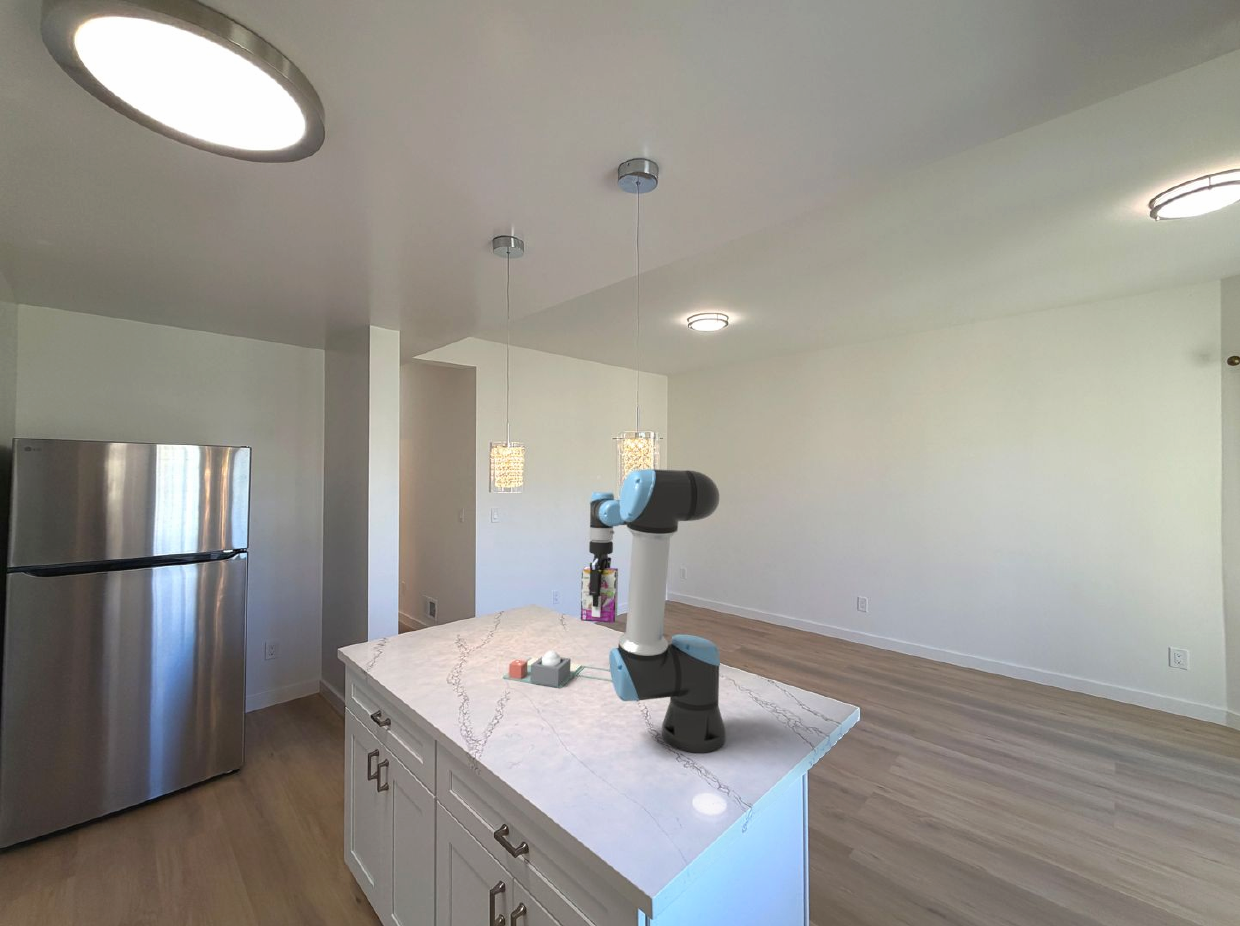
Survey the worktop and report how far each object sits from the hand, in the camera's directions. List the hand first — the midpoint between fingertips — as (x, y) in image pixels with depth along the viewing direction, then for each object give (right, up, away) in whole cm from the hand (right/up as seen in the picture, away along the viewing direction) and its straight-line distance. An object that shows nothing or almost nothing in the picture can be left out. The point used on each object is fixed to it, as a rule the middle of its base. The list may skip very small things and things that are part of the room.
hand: (599, 613), depth 158 cm
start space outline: (0, -19, -1) cm, 19 cm away
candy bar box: (0, -2, 0) cm, 2 cm away
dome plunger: (-15, -16, -6) cm, 22 cm away
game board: (-18, -18, -1) cm, 25 cm away
